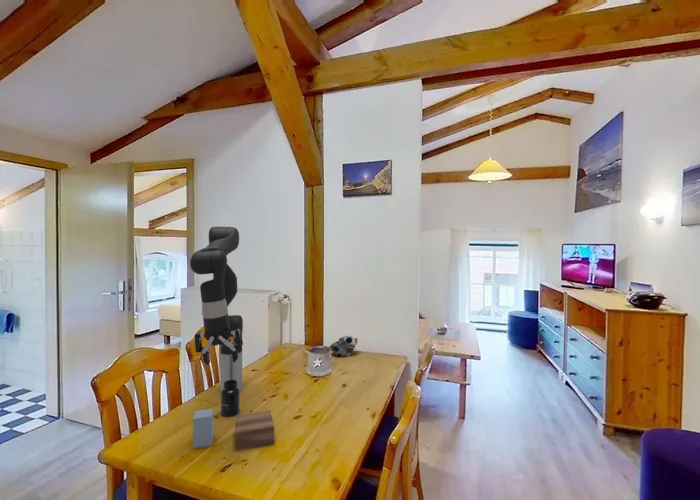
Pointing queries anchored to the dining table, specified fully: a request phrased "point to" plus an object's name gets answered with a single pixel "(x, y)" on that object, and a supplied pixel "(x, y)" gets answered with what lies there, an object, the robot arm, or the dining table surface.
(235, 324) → the robot arm
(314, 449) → the dining table surface
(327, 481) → the dining table surface
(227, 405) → the supplement bottle
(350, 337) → the grey toy figure
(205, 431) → the blue-gray rectangular block
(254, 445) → the walnut box
